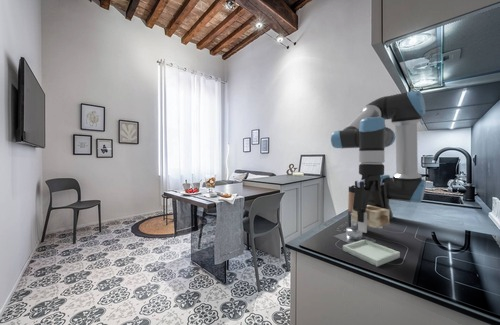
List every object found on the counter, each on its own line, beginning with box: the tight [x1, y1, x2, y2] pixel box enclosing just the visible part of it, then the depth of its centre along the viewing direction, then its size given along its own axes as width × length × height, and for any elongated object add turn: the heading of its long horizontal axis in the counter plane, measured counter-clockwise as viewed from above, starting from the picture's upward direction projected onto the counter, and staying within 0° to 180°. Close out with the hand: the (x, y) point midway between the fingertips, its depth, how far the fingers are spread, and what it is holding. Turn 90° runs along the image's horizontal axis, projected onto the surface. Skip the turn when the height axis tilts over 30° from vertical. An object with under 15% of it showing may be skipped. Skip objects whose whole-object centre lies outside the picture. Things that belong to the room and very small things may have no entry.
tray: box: [342, 239, 401, 267], centre depth 72 cm, size 12×12×2 cm
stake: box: [333, 213, 377, 244], centre depth 85 cm, size 11×11×11 cm
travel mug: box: [347, 184, 365, 227], centre depth 96 cm, size 8×8×20 cm
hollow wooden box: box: [352, 205, 390, 229], centre depth 71 cm, size 8×9×5 cm
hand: (370, 229), depth 72 cm, fingers closed on hollow wooden box, 8 cm apart
